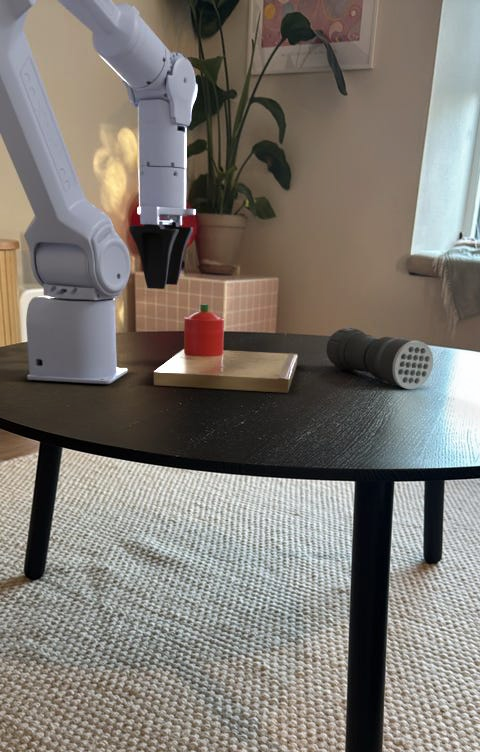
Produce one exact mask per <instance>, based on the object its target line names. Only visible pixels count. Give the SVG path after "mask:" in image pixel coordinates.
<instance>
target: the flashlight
mask: <svg viewBox="0 0 480 752" xmlns="http://www.w3.org/2000/svg"><path fill="white" fill-rule="evenodd" d="M326 356H327V358H328V360H329V361H330V363H331V364H333V365H334V366H335V367H336V368H338V369H341V370H343V371H348V372H349V371H358V372H366V373H370V375H371V376H372V377H374V378H376V379H379V380H381V381H384V382H386V383H388V384H389V385H393V386H395V387H400V388H403V389H406V390H415V389H418V388H419V387H421V386H423V384H425V383H426V382H427V380H428V378H429V377H430V376H431V373H432V371H433V367H434V355H433V351H432V349H431V348H430V347H429V345H428V344H427V343H425V342H423V341H420V340H415V339H410V338H406V337H397V338H394V337H391V336H382V337H379V338H378V337H374V336H373V335H370V334H366V333H365V332H364V331H362V330H360V329H357V328H352V327H344V328H341V329H338V330H336V331H335V332H333V333H332V334H331V335H330V337H329V339H328V340H327V344H326Z"/></svg>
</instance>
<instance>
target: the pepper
mask: <svg viewBox="0 0 480 752" xmlns="http://www.w3.org/2000/svg"><path fill="white" fill-rule="evenodd" d="M199 308H200V310H199V311H197V312H194V313H192V314H191V315H189V316H185V317H184V318H183V319H184V320H183V322H184V324H183V327H184V328H183V336H184V337H183V349H184V353H185V354H188V355H193V356H219V355H222V354H223V350H224V337H225V319H224V318H223V317H220V316H217V315H216V314H215V313H213V312H211V311H209V304H208V303H200V306H199Z"/></svg>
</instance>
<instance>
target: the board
mask: <svg viewBox="0 0 480 752" xmlns="http://www.w3.org/2000/svg"><path fill="white" fill-rule="evenodd" d="M297 366H298V353H292V352H289V353H284V352H283V353H282V352H266V351H265V352H262V351H246V350H245V351H243V350H224V349H223V354H222V355H219V356H193V355H188V354H185V353H184V348H183V349H182V350H180V351H179V352H177V353H176V354H174V356H172V358H170V359H169V360H167V361H166V362H165V363H164V364H162V365H161V366H159V367H158V368H157V369H156V370H153V385H154V386H164V387H179V388H180V387H181V388H197V389H212V390H213V389H215V390H230V391H231V390H232V391H247V392H248V391H249V392H263V393H265V392H266V393H281V394H282V393H283V394H288V393H289V390H290V387H291V385H292V382H293V381H292V380H293V379H294V376H295V372H296V369H297Z"/></svg>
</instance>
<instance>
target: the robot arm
mask: <svg viewBox="0 0 480 752" xmlns="http://www.w3.org/2000/svg"><path fill="white" fill-rule="evenodd" d="M56 1H57V2H58V3H59V4H60V5H61V6H62V7H64V8H65V9H66V10H67V11H68V12H69V13H70V14H71V15H72V16H74V17H75V18H76V19H77V20H78V21H79V22H80V23H82V25H84V26H85V27H86V28H87V29H88V30H89V31H90V32H91V33H92V34H91V36H92V37H91V42H92V45H93V50H94V51H95V52H96V53H97V55H98V56H100V58H101V59H103V61H104V62H105V63H106V64H107V65H108V66H109V67H111V69H112V70H113V71H114V72H115V73H116V74H117V75H118V76H119V77H120V79H121V80H122V84H123V85H124V87H125V89H126V92H127V96H128V98H129V101H130V103H131V105H132V106H133V107H134V108H136V109H137V136H138V138H137V140H138V143H137V144H138V147H137V148H138V207H137V214H138V215H139V218H140V225H138V224H137V225H134V224H133V225H131V224H129V233H130V235H131V237H132V239H133V241H134V243H135V246H136V248H137V251H138V254H139V257H140V262H141V267H142V270H143V277H144V281H145V284H146V288H147V289H155V290H165V289H166V285H171V286H172V285H174V286H177V285H178V283H179V280H180V275H181V270H182V265H183V259H184V256H185V255H184V254H185V252H186V248H187V245H188V243H189V240H190V239H191V236H192V234H193V232H194V231H193V230H194V227H193V226H183V217H187V216H196V215H197V214H196V213H197V211H196V210H197V209H195V208H187V131H188V130H187V127H189V126H190V124H191V122H192V110H193V106H194V105H195V101H196V99H197V96H198V95H197V94H198V84H197V81H196V74H195V69H194V67H193V65H192V63H191V61H190V60H189V59H188V58H187V57H185V56H184V55H183V54H182V53H180V52H178V51H177V52H176V51H173V52H172V51H170V50H169V48H168V47H167V46H166V45H165V44H164V42H162V40H161V39H160V38H159V37H158V36H157V35H156V34H155V32H154V31H153V30H152V28H150V26H149V25H148V24H147V23H146V22H145V20H144V19H143V18H142V17H141V16H140V11H139V10H138V9H137V8H136V7H135V5H133V4H128V3H125V2H119V3H115V2H114V1H113V0H56ZM36 2H37V0H0V137H1V139H2V141H3V143H4V146H5V148H6V151H7V153H8V155H9V158H10V160H11V162H12V164H13V167H14V170H15V172H16V174H17V177H18V179H19V181H20V183H21V186H22V188H23V190H24V193H25V195H26V198H27V200H28V202H29V205H30V207H31V209H32V213H33V214H34V216H33V218H32V220H31V221H30V223H29V224H28V226H27V228H26V229H25V232H24V234H23V237H24V239H25V242H26V245H27V248H28V250H29V259H30V267H31V271H32V274H33V276H34V279H35V280H36V282H37V283H38V284H39V285H40V286H41V287H42V288H43V296H42V295H40V296H34V297H32V298H31V299H30V300H29V303H28V305H27V309H26V317H25V318H26V319H25V323H26V325H25V327H26V343H27V355H28V356H27V357H28V369H29V374H27V375H26V378H27V380H28V381H29V380H30V381H43V382H44V381H46V382H60V383H61V382H62V383H63V382H64V383H78V384H79V383H80V384H96V385H97V384H98V385H110V384H112V383H113V382H115V381H116V380H118V379H119V378H121V377H122V376H124V375H126V374H127V373H128V368H127V367H118V366H117V363H118V362H117V359H118V357H117V327H116V326H117V324H116V323H117V322H116V320H117V319H116V299H121V293H122V292H123V290H124V289H125V287H126V286H127V284H128V281H129V278H130V275H131V268H132V267H131V265H132V264H131V256H130V252H129V249H128V247H127V245H126V243H125V241H124V239H122V238H121V237H120V235H118V233H117V231H116V230H115V228H114V224H113V222H112V219H111V218H110V217H109V215H107V214H105V212H103V211H102V210H101V209H99V208H98V207H96V206H95V205H94V204H92V203H91V202H90V201H89V200H88V199H87V198H86V196H85V193H84V191H83V188H82V185H81V182H80V180H79V177H78V175H77V174H78V173H77V172H76V169H75V166H74V163H73V160H72V159H71V156H70V153H69V150H68V147H67V144H66V142H65V139H64V137H63V134H62V132H61V128H60V126H59V123H58V121H57V120H58V119H57V117H56V114H55V112H54V109H53V107H52V103H51V102H50V98H49V95H48V93H47V91H46V88H45V84H44V81H43V79H42V77H41V74H40V72H39V68H38V65H37V63H36V59H35V57H34V55H33V52H32V50H31V46H30V43H29V41H28V39H27V36H26V33H25V29H24V27H25V24H26V20H27V17H28V14H29V10H31V9H32V8H33V7H34V6H35V4H36Z"/></svg>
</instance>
